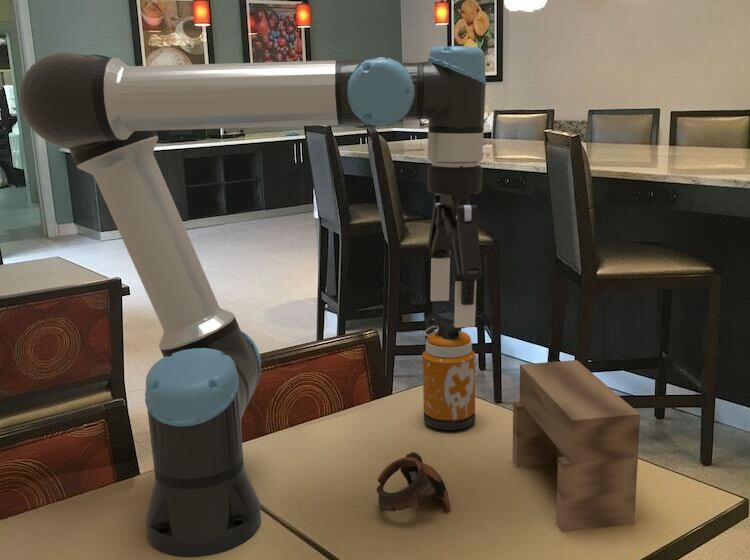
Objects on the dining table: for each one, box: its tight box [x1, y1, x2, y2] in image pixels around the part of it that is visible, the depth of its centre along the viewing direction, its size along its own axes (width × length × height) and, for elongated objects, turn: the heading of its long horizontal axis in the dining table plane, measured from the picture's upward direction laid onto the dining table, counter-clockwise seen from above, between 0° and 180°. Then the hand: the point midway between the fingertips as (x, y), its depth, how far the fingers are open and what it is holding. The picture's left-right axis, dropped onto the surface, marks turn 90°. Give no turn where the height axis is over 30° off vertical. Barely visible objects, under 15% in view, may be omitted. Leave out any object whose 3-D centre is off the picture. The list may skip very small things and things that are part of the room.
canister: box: [422, 307, 476, 431], centre depth 137 cm, size 9×11×20 cm
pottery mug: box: [376, 451, 451, 513], centre depth 111 cm, size 12×9×8 cm
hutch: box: [512, 359, 641, 533], centre depth 112 cm, size 10×21×16 cm, turn 8°
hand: (451, 312), depth 114 cm, fingers open, 13 cm apart
